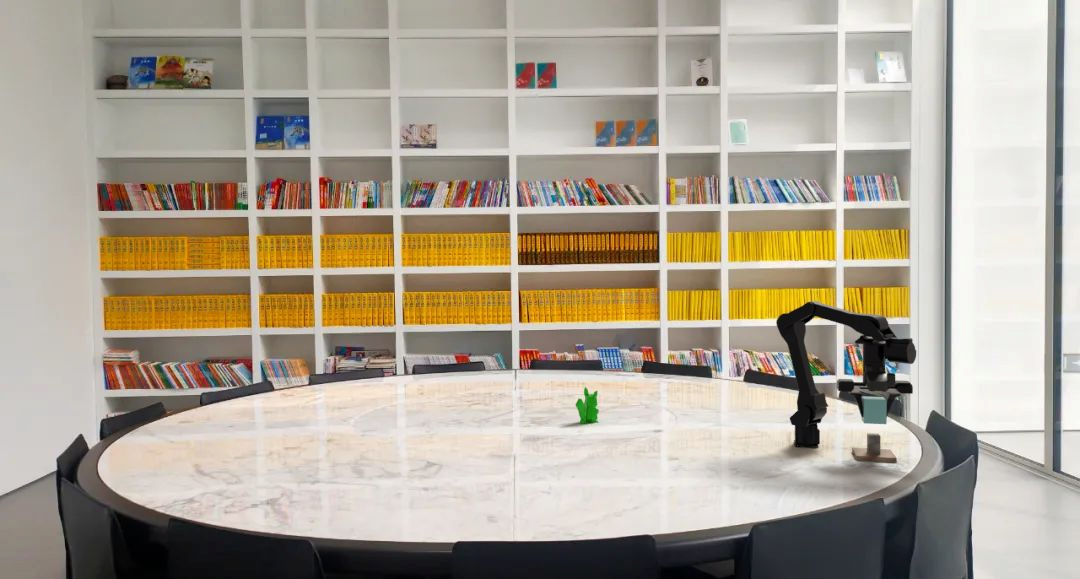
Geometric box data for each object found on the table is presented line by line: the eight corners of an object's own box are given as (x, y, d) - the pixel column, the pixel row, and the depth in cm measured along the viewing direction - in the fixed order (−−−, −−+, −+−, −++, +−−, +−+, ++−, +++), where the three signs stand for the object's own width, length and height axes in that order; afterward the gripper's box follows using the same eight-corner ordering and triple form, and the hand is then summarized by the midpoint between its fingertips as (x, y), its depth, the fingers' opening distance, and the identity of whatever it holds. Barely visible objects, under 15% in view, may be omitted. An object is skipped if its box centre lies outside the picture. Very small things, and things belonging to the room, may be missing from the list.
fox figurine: (603, 422, 265) (603, 387, 265) (584, 426, 259) (584, 390, 258) (590, 419, 270) (590, 385, 269) (571, 423, 263) (571, 388, 263)
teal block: (864, 423, 211) (864, 399, 211) (861, 419, 217) (861, 396, 216) (886, 424, 210) (886, 400, 210) (883, 420, 215) (883, 397, 215)
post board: (856, 460, 210) (856, 437, 210) (852, 451, 220) (852, 430, 219) (896, 462, 207) (896, 439, 207) (890, 453, 217) (890, 431, 217)
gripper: (840, 363, 207) (840, 421, 208) (917, 365, 203) (916, 424, 203) (836, 358, 218) (836, 413, 219) (908, 360, 213) (908, 416, 214)
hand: (873, 417), depth 213 cm, fingers closed on teal block, 6 cm apart
